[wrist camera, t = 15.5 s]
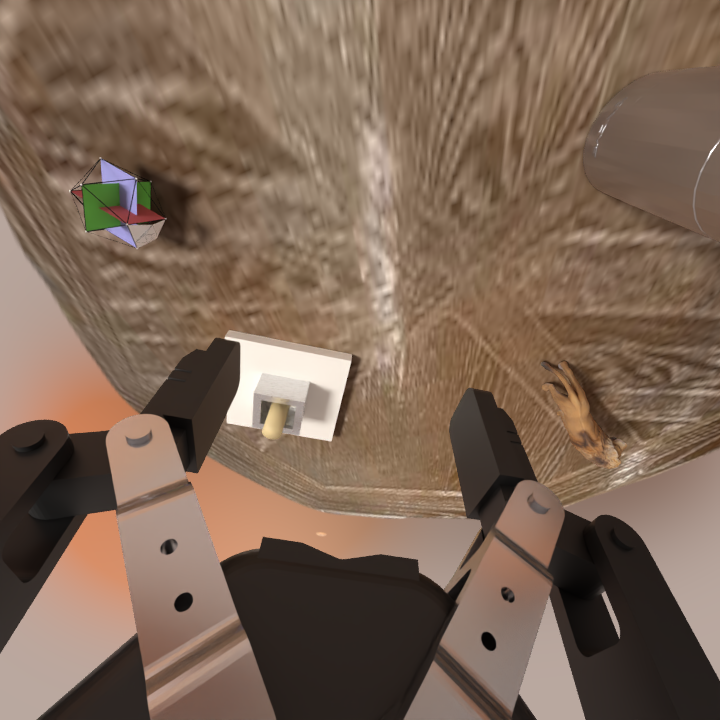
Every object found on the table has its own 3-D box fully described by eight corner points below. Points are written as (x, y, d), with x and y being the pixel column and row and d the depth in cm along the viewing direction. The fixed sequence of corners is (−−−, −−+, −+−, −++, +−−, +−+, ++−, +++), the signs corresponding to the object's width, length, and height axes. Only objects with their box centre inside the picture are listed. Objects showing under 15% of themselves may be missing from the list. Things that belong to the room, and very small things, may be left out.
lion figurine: (604, 412, 51) (641, 464, 43) (567, 428, 53) (597, 481, 46) (558, 349, 45) (593, 397, 37) (519, 370, 47) (545, 420, 40)
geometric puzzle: (71, 216, 35) (79, 257, 31) (62, 141, 31) (70, 176, 27) (153, 225, 40) (170, 262, 35) (154, 160, 36) (173, 193, 31)
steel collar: (309, 381, 48) (304, 402, 44) (304, 414, 51) (299, 435, 48) (262, 372, 47) (253, 392, 44) (260, 406, 51) (252, 427, 48)
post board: (352, 354, 46) (347, 398, 40) (332, 433, 56) (325, 480, 49) (229, 329, 45) (202, 371, 38) (230, 415, 54) (209, 461, 48)
